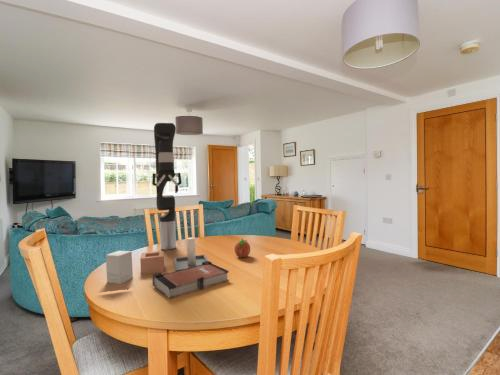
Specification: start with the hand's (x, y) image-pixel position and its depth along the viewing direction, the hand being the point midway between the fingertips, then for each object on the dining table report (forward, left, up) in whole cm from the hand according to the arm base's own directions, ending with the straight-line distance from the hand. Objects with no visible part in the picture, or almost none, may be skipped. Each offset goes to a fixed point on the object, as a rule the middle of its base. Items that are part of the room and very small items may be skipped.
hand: (167, 193), depth 141 cm
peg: (+11, +10, -35) cm, 38 cm away
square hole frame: (+11, -8, -36) cm, 39 cm away
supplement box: (+20, -21, -36) cm, 46 cm away
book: (+33, +8, -37) cm, 50 cm away
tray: (+11, +10, -36) cm, 39 cm away
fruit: (+5, +38, -36) cm, 53 cm away
